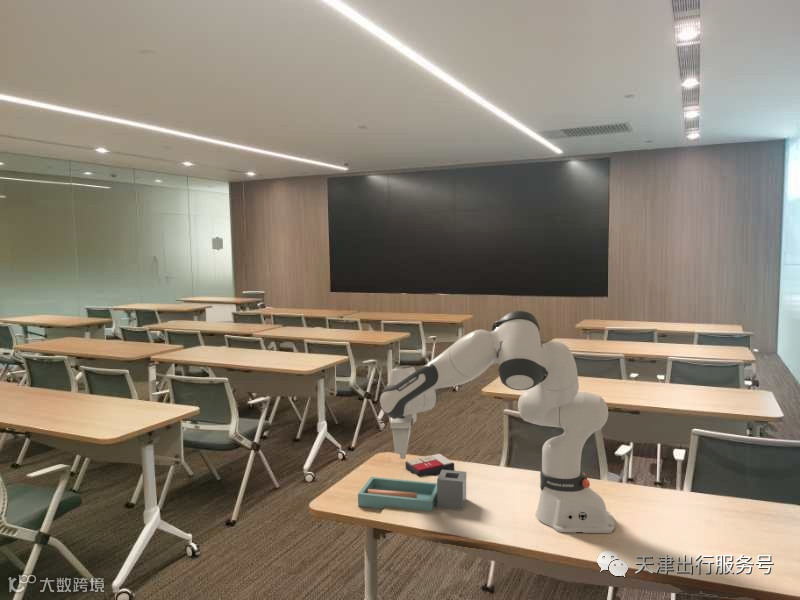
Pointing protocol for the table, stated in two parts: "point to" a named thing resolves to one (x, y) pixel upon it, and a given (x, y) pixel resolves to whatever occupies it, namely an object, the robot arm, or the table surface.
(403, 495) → the dowel pin
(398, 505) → the tray
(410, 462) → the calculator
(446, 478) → the grey pencil holder
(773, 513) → the table surface
